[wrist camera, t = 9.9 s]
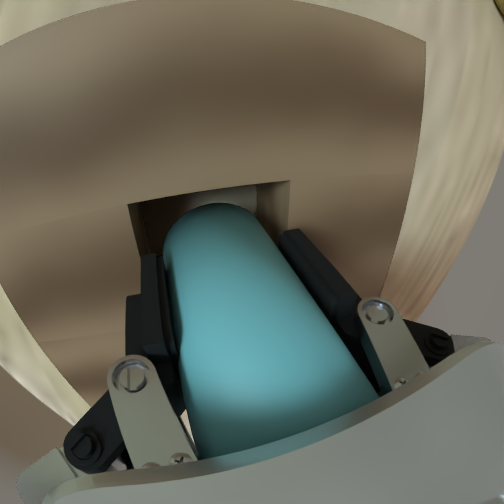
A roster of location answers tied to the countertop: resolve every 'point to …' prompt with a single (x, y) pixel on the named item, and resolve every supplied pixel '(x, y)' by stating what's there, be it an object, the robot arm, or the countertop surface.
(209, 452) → the dowel peg
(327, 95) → the socket block
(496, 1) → the bark patterned cylinder
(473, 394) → the robot arm
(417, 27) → the countertop surface
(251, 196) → the countertop surface
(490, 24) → the countertop surface
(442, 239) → the countertop surface
